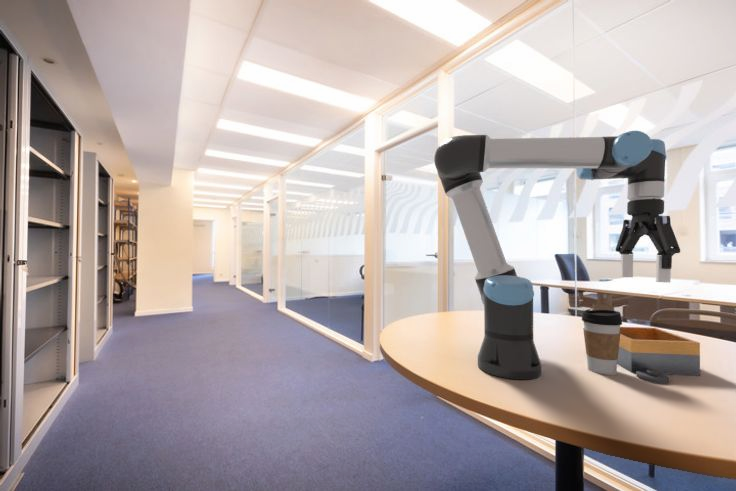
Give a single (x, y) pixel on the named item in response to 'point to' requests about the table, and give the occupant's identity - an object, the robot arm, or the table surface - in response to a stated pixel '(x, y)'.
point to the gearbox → (658, 351)
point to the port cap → (652, 376)
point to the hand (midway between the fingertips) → (643, 279)
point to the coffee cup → (602, 340)
